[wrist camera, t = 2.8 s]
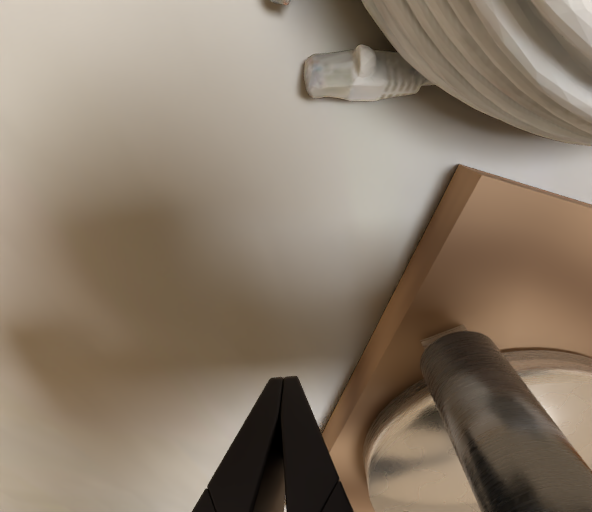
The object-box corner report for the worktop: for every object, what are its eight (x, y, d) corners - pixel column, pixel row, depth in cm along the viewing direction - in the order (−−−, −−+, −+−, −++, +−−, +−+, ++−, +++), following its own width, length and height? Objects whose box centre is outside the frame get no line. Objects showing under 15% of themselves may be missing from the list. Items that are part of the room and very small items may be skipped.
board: (483, 534, 22) (496, 565, 21) (286, 503, 20) (286, 533, 19) (792, 266, 12) (856, 289, 11) (459, 163, 11) (483, 176, 9)
